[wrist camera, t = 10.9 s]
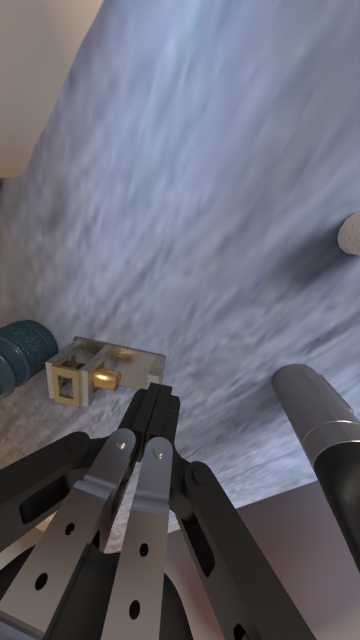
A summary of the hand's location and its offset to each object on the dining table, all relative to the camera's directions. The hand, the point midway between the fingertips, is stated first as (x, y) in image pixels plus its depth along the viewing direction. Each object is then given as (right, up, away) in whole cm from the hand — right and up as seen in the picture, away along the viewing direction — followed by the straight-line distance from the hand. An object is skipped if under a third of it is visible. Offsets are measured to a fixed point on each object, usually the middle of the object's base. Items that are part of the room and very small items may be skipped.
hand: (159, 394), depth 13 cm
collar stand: (-13, -6, +33) cm, 36 cm away
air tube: (-18, -6, +30) cm, 36 cm away
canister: (-35, -1, +34) cm, 49 cm away
